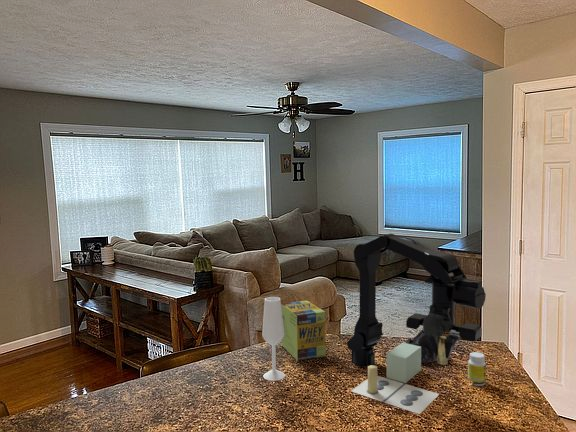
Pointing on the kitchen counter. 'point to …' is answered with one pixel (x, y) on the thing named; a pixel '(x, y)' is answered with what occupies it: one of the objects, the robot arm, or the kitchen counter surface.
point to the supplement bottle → (477, 369)
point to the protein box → (303, 330)
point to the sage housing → (403, 362)
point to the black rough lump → (424, 347)
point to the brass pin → (442, 350)
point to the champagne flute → (273, 332)
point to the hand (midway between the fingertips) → (442, 357)
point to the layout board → (394, 392)
